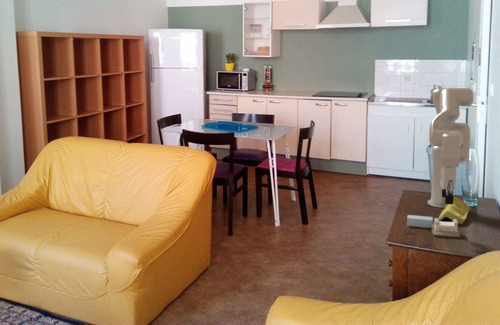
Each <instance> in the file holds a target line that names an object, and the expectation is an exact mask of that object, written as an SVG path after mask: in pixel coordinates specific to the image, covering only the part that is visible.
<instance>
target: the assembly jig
mask: <svg viewBox="0 0 500 325" xmlns="http://www.w3.org/2000/svg"><path fill="white" fill-rule="evenodd" d="M430 230H431V233H432V235H433V236H434V237H446V238H449V237H450V238H453V237H454V238H461V234H460V230H458V229H457V231H456V230H435V231H434V222H433V223H432V227H431V228H430Z"/></svg>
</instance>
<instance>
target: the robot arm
mask: <svg viewBox="0 0 500 325" xmlns="http://www.w3.org/2000/svg"><path fill="white" fill-rule="evenodd" d="M432 102H433V105H434V106H433V107H434V108H435V111H436V116H435V117H434V118H433V119H432V121H431V122H430V124H429V129H428V132H429V133H428V141H429V144H430V146H432V149H431V156H432V176H431V177H432V178H431V193H430V194H431V195H430V199H428V200H427V204H428V206H429V205H430V206H431V207H434V208H443V209H444V208H445V206H446V205H447V204H453V199H454V197H455V196H454V195H455V194H454V190H455V189H456V184H457V183H456V181H457V180H456V179H457V168H458V167H460V164H466V163H467V162H469V158H470V148H471V147H470V146H471V127H470V125H469V124H468V123H466V122H456V121H457V120H459V118H460V115H461V114H460V113H461V112H460V107H471V106H472V105H473V103H474V92H473V90H472V89H471V88H470V87H442V88H441V87H439V88H436V89H434V90H433V92H432Z"/></svg>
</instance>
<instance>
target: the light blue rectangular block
mask: <svg viewBox="0 0 500 325" xmlns="http://www.w3.org/2000/svg"><path fill="white" fill-rule="evenodd" d="M433 219H434V217H433V216H423V215H416V214H415V215H413V214H412V215H411V214H407V217H406V226H407V227H418V228H427V229H431V227H432V223H434V222H433V221H434V220H433Z"/></svg>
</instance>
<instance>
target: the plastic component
mask: <svg viewBox="0 0 500 325" xmlns="http://www.w3.org/2000/svg"><path fill="white" fill-rule="evenodd" d="M469 211H470V207H469V205H468V204H467V203H466V202H465V201H463V200H461V199H460V198H458V197H455V196H454V199H453V204H447V205H446V206H445V208H443V209H442V210H441V213H439V216H438V221H440V222H442V220H444V218H448V219H449V220H450V221H453V219H456V220H457V222H458V225H463V224H464V223H465V220H466V219H467V216H468V214H469Z"/></svg>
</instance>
